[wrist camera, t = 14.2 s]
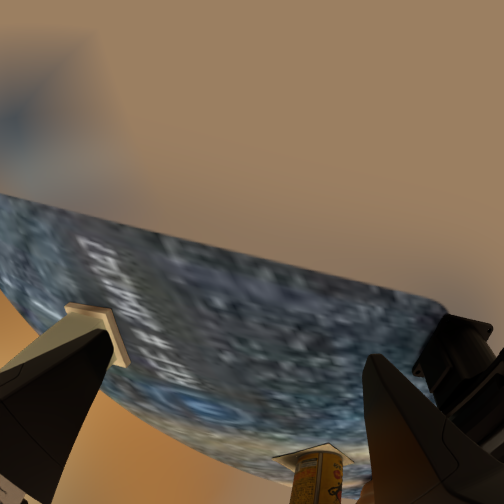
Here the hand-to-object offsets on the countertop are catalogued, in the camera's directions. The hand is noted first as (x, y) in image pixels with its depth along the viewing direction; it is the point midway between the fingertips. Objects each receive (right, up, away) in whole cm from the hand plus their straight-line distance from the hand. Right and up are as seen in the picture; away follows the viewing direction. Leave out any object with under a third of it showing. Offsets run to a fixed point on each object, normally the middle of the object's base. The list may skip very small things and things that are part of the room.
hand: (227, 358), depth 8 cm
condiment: (+9, -24, +19) cm, 32 cm away
